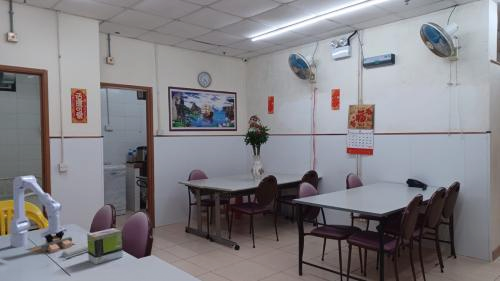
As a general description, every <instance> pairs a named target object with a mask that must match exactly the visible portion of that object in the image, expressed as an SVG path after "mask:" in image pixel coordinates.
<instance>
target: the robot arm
mask: <svg viewBox="0 0 500 281" xmlns="http://www.w3.org/2000/svg"><path fill="white" fill-rule="evenodd" d="M12 183H13V188H12V193H13V194H12V196H13V218H12V219H11V221H9V227H8V231H9V233H10V234H11V235H10V238H9V239H10V241H9V242H10V247H11V246H12V247H13V248H21V247H25V246H28V232H29V229H30V228H31V223H30V221H29V218H28V217H27V216H26V208H25V204H26V203H25V190H26V189H30V190H32V192H33V193H34V194H35V195H36V196H38V200H39V202H40V203H41V204H42V205H43V206H44V207H45V209H44V210H45V213H46V215H47V221H48V222H47V224H48V228H47V229H48V230H46V231H45V232H42V233H40V237H41V238H45V241H46V240H47V242H48V243H50V242H52V241H53V236H52V234H54V235H56V236H57V237H59V238H60V240H61V239H63V237H64V235H65V233H64V232H67V231H68V227H62V228H61V225H60V211H61V210H62V205H61V203H60V202H59V201H56V200H54V199H53V197H52V196H51V195H50V194H49V193H48V192H44V190H43V189H42V188H41V186H40V185H39V184H38V183H37V178H36V177H35V176H34V175H32V174H29V175H23V176H17V177H15V178H14V179H13V180H12Z"/></svg>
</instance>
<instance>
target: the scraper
mask: <svg viewBox="0 0 500 281" xmlns="http://www.w3.org/2000/svg"><path fill="white" fill-rule="evenodd" d="M52 236H53V241H52V242H50V243H48V242H47V240H46V239H45V243H44V244H41V245H42V247H41V252H42V253H44V252H48V247H49V245H53V244H57V245H58V246H59V248H61V244H62V242H63V241H66V240H69V241H71V242H72V243H73V237H71V236H69V237H65V238H62V239H61V240H60V238H59V237H57V236H56V234H52Z"/></svg>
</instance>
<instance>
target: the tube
mask: <svg viewBox="0 0 500 281" xmlns="http://www.w3.org/2000/svg"><path fill="white" fill-rule="evenodd" d="M86 253H87V254H88V242H86V243H84V244H80V245H77V246H74V247H70V248H67V249H65V250H63V252H62V253H61V257H62V258H64V260H69V259H72V258H75V257H77V256H80V255H83V254H86Z"/></svg>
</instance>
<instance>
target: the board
mask: <svg viewBox="0 0 500 281" xmlns="http://www.w3.org/2000/svg"><path fill="white" fill-rule="evenodd" d="M42 245H43V244H41V245H37V246H34V247H29V248H27V249H25V251H29V252H32V253H36V254H40V255H46V254H50V252H49V251H48V252H44V253H42V252H41V247H42ZM75 245H77V244H76V243H73V242H72V246H75ZM62 249H64V248H63V247H61V248H59V250H62Z"/></svg>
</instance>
